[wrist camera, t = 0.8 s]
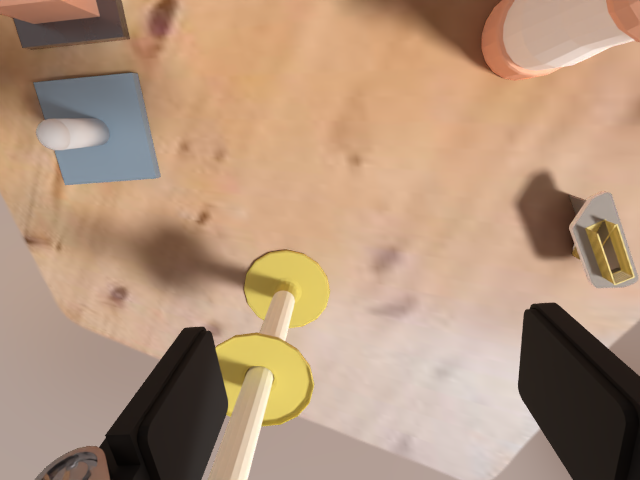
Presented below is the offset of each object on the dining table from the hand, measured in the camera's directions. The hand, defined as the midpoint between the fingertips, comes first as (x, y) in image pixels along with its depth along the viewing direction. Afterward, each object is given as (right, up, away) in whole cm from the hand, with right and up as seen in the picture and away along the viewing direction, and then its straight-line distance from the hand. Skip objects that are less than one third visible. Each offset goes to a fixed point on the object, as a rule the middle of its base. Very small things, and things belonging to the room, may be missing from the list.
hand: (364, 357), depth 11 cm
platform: (+25, +5, +27) cm, 38 cm away
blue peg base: (-24, +15, +26) cm, 38 cm away
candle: (-5, -2, +31) cm, 32 cm away
